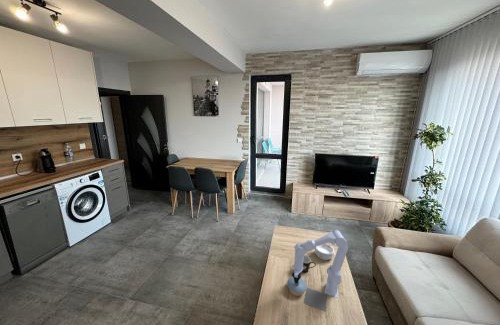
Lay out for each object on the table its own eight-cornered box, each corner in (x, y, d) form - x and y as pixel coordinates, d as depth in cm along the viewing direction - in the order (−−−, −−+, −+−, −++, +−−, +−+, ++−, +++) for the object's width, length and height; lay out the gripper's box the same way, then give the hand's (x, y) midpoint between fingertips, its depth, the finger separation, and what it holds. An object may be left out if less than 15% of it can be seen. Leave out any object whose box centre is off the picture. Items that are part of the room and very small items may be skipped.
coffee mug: (296, 270, 156) (297, 259, 153) (301, 264, 162) (302, 253, 160) (310, 278, 148) (311, 267, 146) (315, 272, 154) (316, 260, 152)
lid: (289, 275, 146) (290, 270, 145) (308, 281, 141) (308, 276, 140) (284, 288, 134) (285, 284, 134) (304, 296, 129) (305, 291, 128)
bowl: (290, 282, 145) (290, 277, 144) (304, 286, 141) (305, 282, 140) (287, 293, 136) (287, 288, 135) (302, 298, 132) (303, 293, 131)
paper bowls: (330, 251, 179) (331, 243, 177) (335, 263, 164) (336, 254, 162) (312, 249, 180) (313, 241, 178) (316, 261, 165) (317, 253, 163)
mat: (307, 288, 140) (307, 287, 140) (327, 295, 135) (327, 294, 135) (303, 303, 128) (303, 303, 128) (325, 312, 123) (325, 311, 123)
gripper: (295, 252, 141) (293, 269, 144) (290, 266, 128) (288, 284, 131) (305, 255, 138) (303, 272, 142) (301, 270, 125) (299, 288, 129)
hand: (297, 278), depth 136 cm, fingers open, 7 cm apart
